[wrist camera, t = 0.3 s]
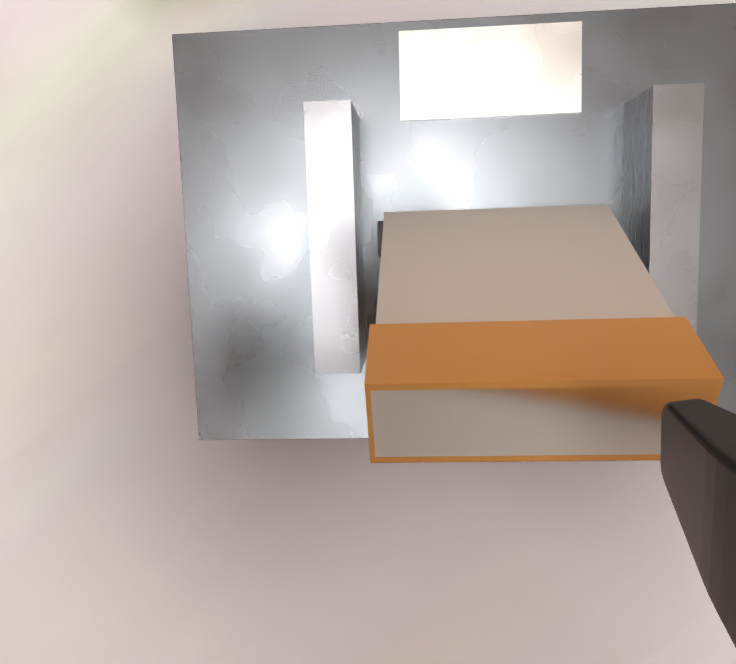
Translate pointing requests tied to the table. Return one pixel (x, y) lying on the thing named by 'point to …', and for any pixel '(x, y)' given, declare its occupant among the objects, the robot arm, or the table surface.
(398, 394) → the lever
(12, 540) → the table surface
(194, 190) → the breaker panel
